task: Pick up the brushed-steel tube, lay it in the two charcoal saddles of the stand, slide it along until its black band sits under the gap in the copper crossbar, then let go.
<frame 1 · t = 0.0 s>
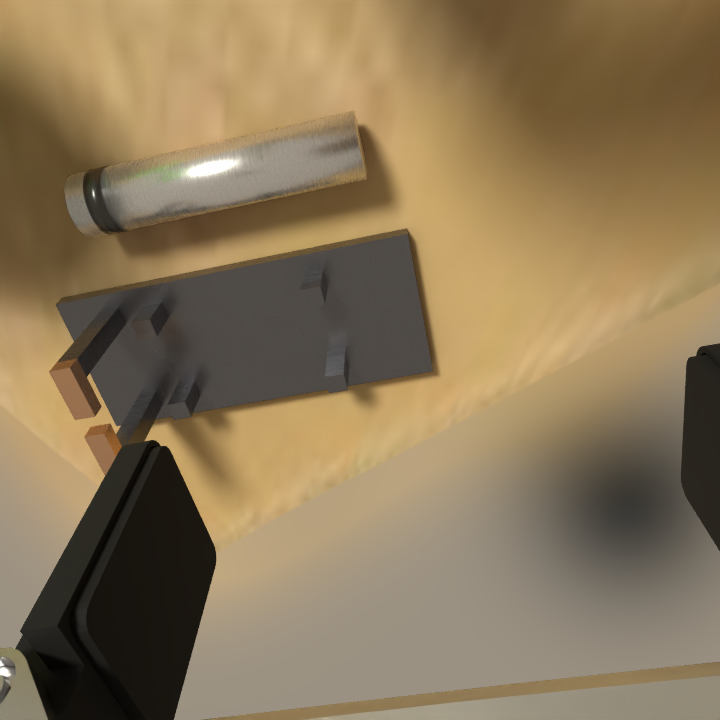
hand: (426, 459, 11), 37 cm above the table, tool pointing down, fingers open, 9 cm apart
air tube: (224, 169, 45), on the table
saddle stand: (251, 331, 52), on the table
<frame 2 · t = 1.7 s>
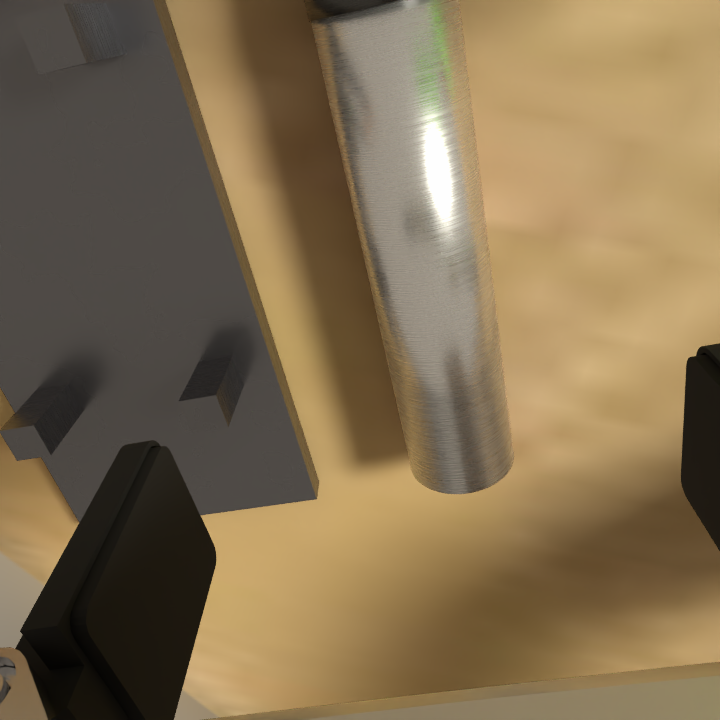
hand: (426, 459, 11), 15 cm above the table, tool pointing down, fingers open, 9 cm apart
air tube: (419, 219, 24), on the table
saddle stand: (87, 235, 25), on the table
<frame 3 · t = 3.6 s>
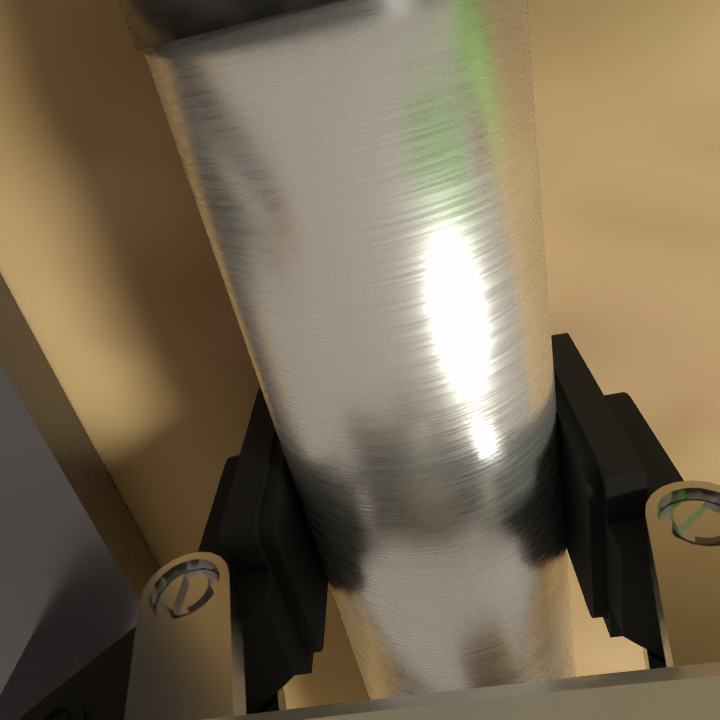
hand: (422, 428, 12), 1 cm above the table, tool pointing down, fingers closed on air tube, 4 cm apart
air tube: (420, 408, 13), on the table, touching gripper
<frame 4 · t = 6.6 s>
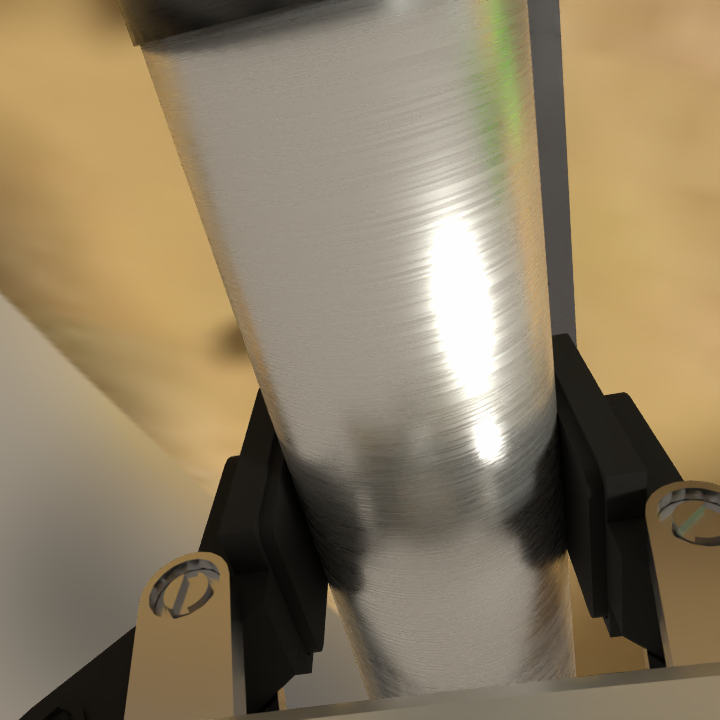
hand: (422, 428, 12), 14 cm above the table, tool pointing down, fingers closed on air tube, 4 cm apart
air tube: (420, 408, 13), point 14 cm above the table, touching gripper
saddle stand: (385, 117, 23), on the table
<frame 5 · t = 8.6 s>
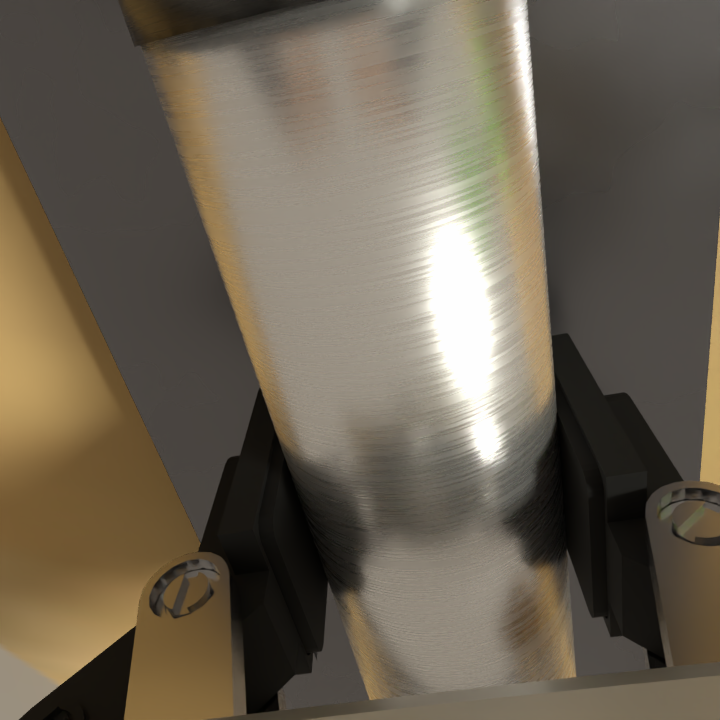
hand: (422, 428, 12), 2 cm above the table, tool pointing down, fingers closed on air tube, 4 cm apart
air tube: (420, 407, 13), point 2 cm above the table, touching gripper
saddle stand: (388, 241, 13), on the table
when the fingers open (2 cm above the table, at t = 9.9 s): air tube stays where it is, resting on saddle stand.
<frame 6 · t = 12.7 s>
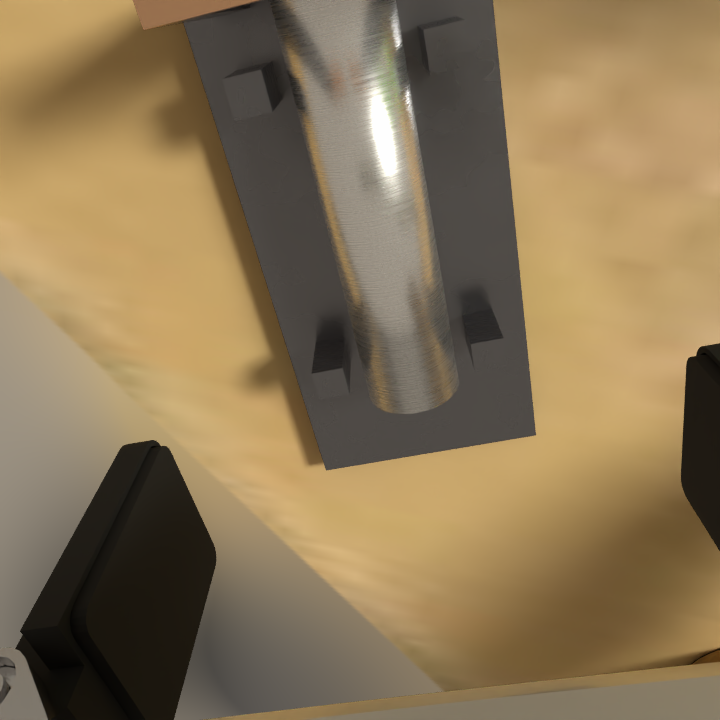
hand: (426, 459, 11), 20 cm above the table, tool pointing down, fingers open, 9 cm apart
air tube: (371, 173, 28), point 1 cm above the table, touching saddle stand
saddle stand: (379, 209, 30), on the table
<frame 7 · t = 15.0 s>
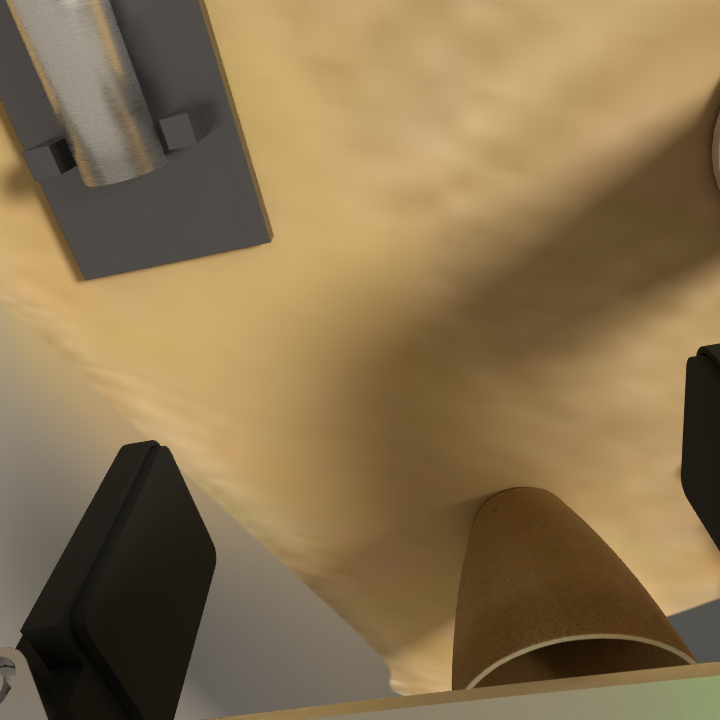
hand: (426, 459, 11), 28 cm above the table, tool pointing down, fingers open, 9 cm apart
saddle stand: (87, 3, 33), on the table
plant pot: (523, 519, 51), on the table
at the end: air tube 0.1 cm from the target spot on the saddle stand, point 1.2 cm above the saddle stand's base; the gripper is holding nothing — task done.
